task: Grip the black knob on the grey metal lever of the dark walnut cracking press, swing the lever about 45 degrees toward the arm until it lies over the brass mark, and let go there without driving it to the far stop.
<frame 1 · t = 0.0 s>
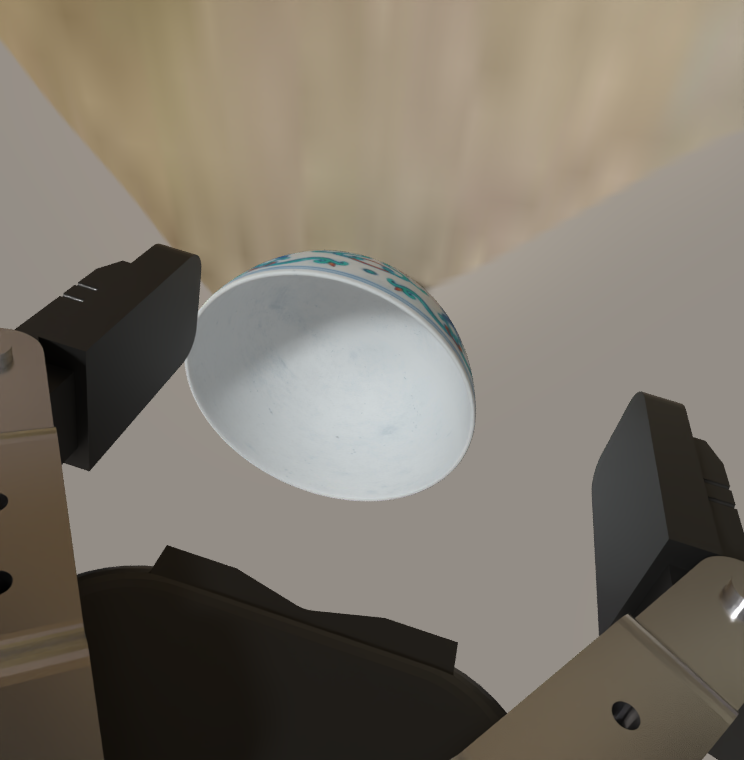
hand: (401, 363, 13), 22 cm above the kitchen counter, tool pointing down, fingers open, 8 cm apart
chinaware: (365, 311, 41), on the kitchen counter
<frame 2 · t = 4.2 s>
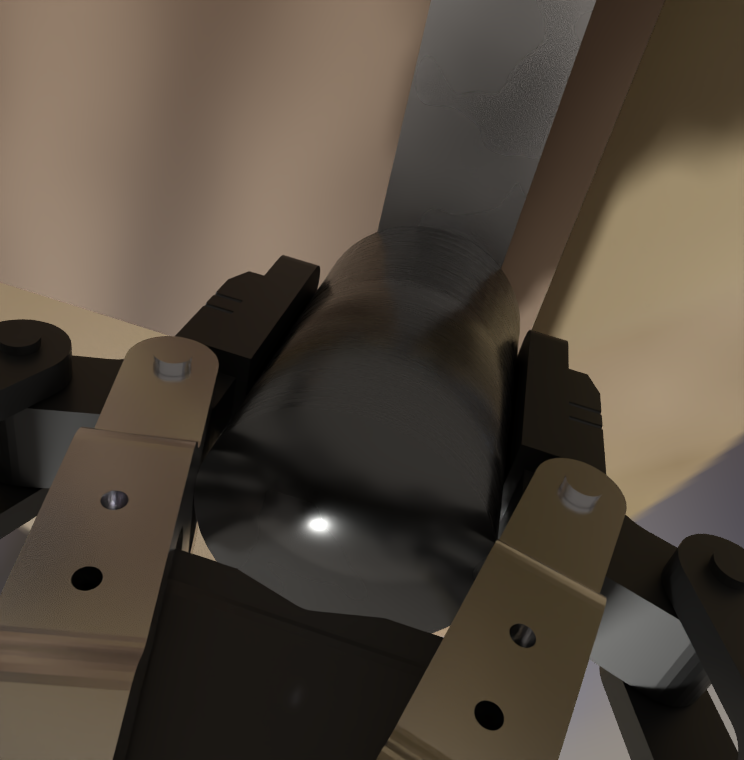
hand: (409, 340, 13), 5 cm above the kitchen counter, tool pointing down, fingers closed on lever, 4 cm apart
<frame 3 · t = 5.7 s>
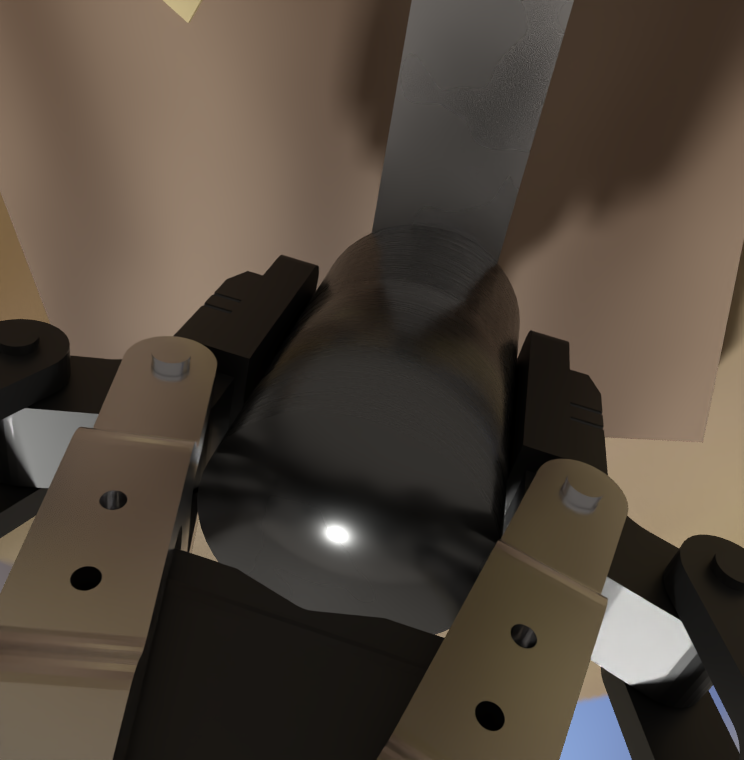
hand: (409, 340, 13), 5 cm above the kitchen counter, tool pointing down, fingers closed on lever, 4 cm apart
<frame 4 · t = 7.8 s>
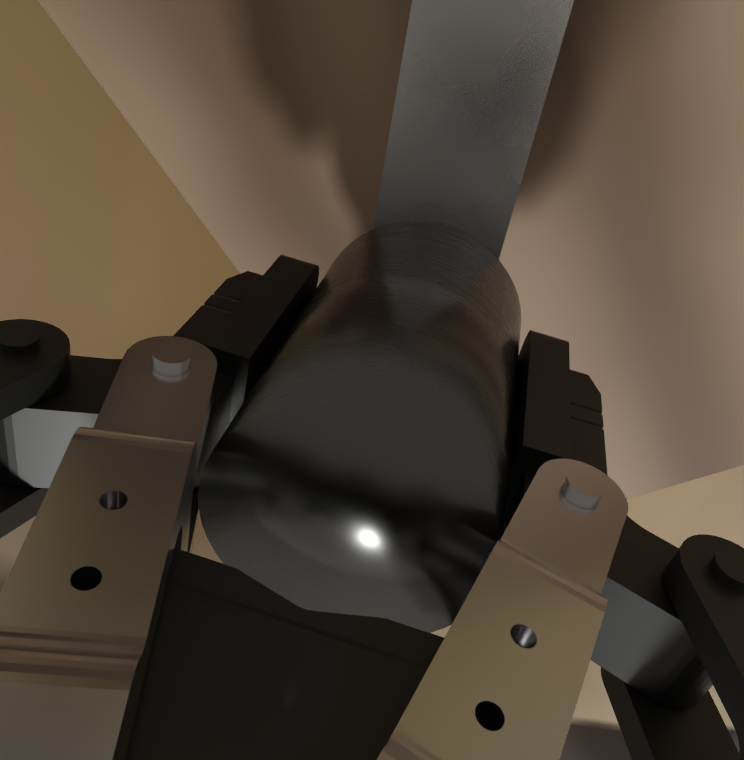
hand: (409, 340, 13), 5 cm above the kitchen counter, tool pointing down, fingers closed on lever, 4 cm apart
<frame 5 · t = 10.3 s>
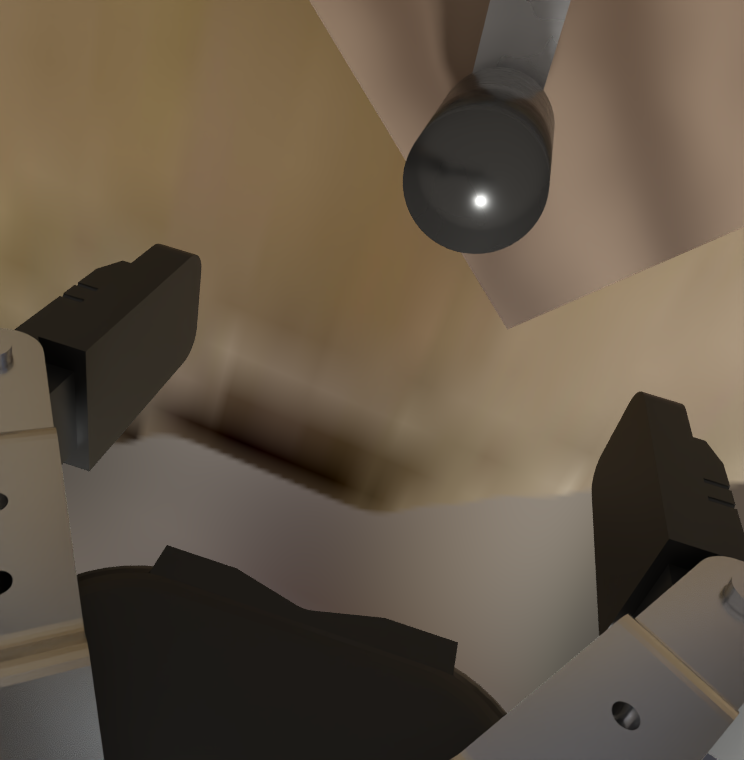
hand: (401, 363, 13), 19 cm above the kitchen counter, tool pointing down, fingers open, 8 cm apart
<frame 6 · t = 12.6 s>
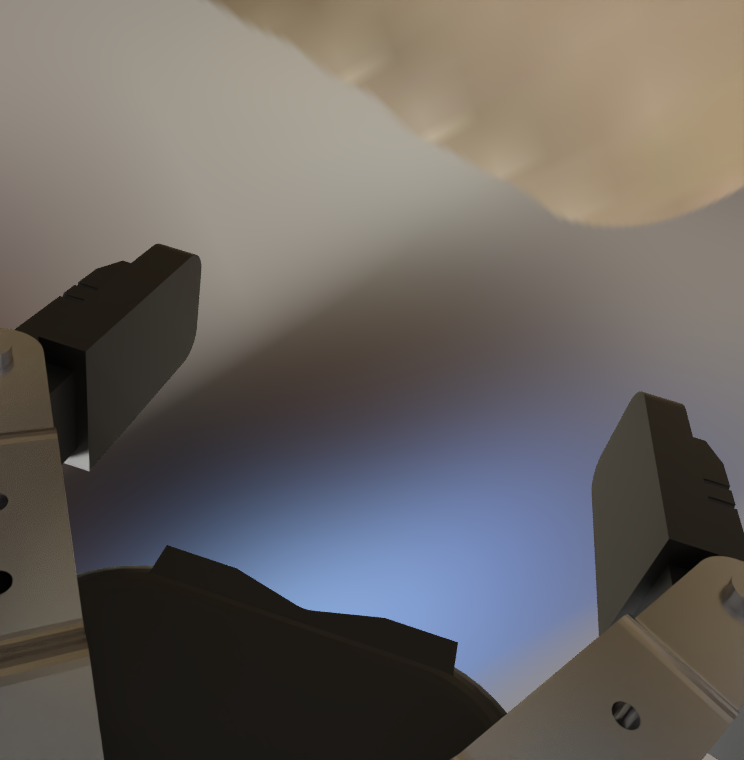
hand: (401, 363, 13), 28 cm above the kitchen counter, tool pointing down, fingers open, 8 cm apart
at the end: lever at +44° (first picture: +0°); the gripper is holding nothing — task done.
